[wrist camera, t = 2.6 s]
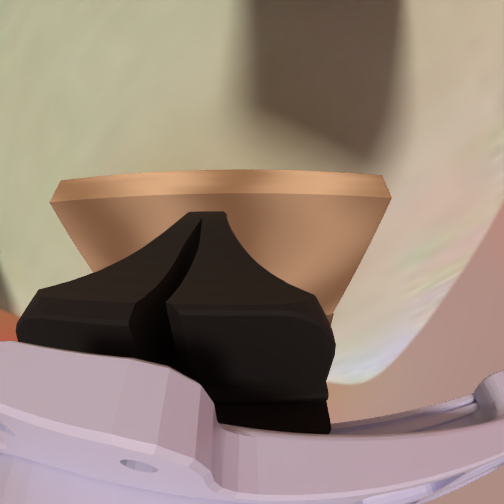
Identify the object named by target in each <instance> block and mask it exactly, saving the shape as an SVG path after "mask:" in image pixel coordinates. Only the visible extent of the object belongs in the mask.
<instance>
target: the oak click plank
mask: <svg viewBox="0 0 504 504" xmlns="http://www.w3.org/2000/svg"><path fill="white" fill-rule="evenodd" d="M391 198H392V197H391V195H390V193H389V190H388V188H387V186H386V183H385V181H384V179H383V177H382V175H371V174H358V173H342V172H323V171H297V170H195V171H170V172H151V173H135V174H122V175H110V176H99V177H88V178H79V179H70V180H62V181H60V183H59V185H58V187H57V189H56V191H55V193H54V195H53V197H52V199H51V201H50V204H51V205H52V207H53V209H54V211H55V212H56V214H57V216H58V218H59V219H60V221H61V223H62V224H63V226H64V228H65V229H66V231H67V233H68V234H69V236H70V238H71V239H72V241H73V242H74V244H75V245H76V247H77V249H78V250H79V252H80V253H81V255H82V256H83V258H84V259H85V261H86V262H87V264H88V265H89V267H90V268H91V270H92V271H93V273H94V272H97V271H99V270H101V269H103V268H105V267H108V266H110V265H112V264H114V263H116V262H118V261H120V260H122V259H124V258H126V257H128V256H129V255H131V254H133V253H134V252H136V251H138V250H139V249H141V248H142V247H144V246H145V245H147V244H148V243H150V242H151V241H152V240H154V239H155V238H156V237H158V236H159V235H161V234H162V233H163V232H165V231H166V230H167V229H168V228H169V227H171V226H172V225H173V224H174V223H176V222H177V221H178V220H179V219H180V218H182V217H183V216H184V215H185V214H187V213H188V212H197V211H224V212H225V213H226V214H227V220H228V223H229V225H230V227H231V229H232V231H233V233H234V234H235V236H236V238H237V239H238V241H239V242H240V244H241V245H242V246H243V248H244V249H245V250H246V251H247V252H248V254H249V255H250V256H251V257H252V258H253V259H254V260H255V261H256V262H257V263H258V264H259V265H261V266H262V267H263V268H265V269H266V270H267V271H269V272H270V273H272V274H273V275H275V276H276V277H278V278H280V279H281V280H283V281H285V282H287V283H289V284H290V285H293V286H295V287H297V288H300V289H302V290H304V291H307V292H309V293H311V294H314V295H315V296H316V297H317V299H318V301H319V303H320V305H321V307H322V309H323V310H324V312H325V315H330V314H332V313H333V312H334V310H335V308H336V306H337V305H338V303H339V301H340V299H341V297H342V296H343V294H344V292H345V290H346V288H347V287H348V285H349V283H350V281H351V279H352V277H353V275H354V274H355V272H356V270H357V268H358V266H359V264H360V262H361V260H362V258H363V256H364V254H365V252H366V250H367V248H368V246H369V244H370V242H371V240H372V238H373V236H374V234H375V232H376V230H377V228H378V226H379V224H380V222H381V220H382V218H383V216H384V213H385V211H386V209H387V207H388V205H389V203H390V200H391Z"/></svg>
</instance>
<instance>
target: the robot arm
mask: <svg viewBox="0 0 504 504" xmlns="http://www.w3.org/2000/svg"><path fill="white" fill-rule="evenodd" d="M16 334H17V338H18V341H3V342H0V504H422V503H425V502H427V501H430V500H433V499H435V498H438V497H440V496H442V495H445V494H447V493H449V492H452V491H454V490H456V489H458V488H461V487H462V486H465V485H467V484H469V483H471V482H473V481H475V480H477V479H479V478H481V477H483V476H485V475H487V474H489V473H491V472H493V471H494V470H496V469H498V468H499V467H501V466H502V465H504V370H502V371H499V372H496V373H493V374H491V375H489V376H488V377H486V378H485V379H484V380H483V381H482V382H481V383H480V384H479V385H478V387H477V388H476V389H475V391H474V393H472V394H469V395H466V396H463V397H460V398H457V399H453V400H449V401H446V402H442V403H439V404H435V405H431V406H427V407H423V408H419V409H415V410H411V411H406V412H401V413H397V414H391V415H386V416H381V417H375V418H369V419H363V420H357V421H350V422H342V423H334V424H331V423H330V418H329V413H328V407H327V402H326V400H327V399H328V389H327V384H326V380H327V377H328V374H329V371H330V368H331V365H332V362H333V358H334V355H335V347H336V343H335V340H334V335H333V331H332V328H331V326H330V323H329V321H328V319H327V317H326V315H325V312H324V310H323V309H322V307H321V305H320V303H319V301H318V299H317V297H316V296H315V295H314V294H311V293H309V292H307V291H304V290H302V289H300V288H297V287H295V286H293V285H290V284H289V283H287V282H285V281H283V280H281V279H280V278H278V277H276V276H275V275H273V274H272V273H270V272H269V271H267V270H266V269H265V268H263V267H262V266H261V265H259V264H258V263H257V262H256V261H255V260H254V259H253V258H252V257H251V256H250V255H249V254H248V252H247V251H246V250H245V249H244V248H243V246H242V245H241V244H240V242H239V241H238V239H237V238H236V236H235V234H234V233H233V231H232V229H231V227H230V225H229V223H228V220H227V214H226V213H225V212H224V211H197V212H188V213H187V214H185V215H184V216H183V217H182V218H180V219H179V220H178V221H177V222H176V223H174V224H173V225H172V226H171V227H169V228H168V229H167V230H166V231H165V232H163V233H162V234H161V235H159V236H158V237H156V238H155V239H154V240H152V241H151V242H150V243H148V244H147V245H145V246H144V247H142V248H141V249H139V250H138V251H136V252H134V253H133V254H131V255H129V256H128V257H126V258H124V259H122V260H120V261H118V262H116V263H114V264H112V265H110V266H108V267H105V268H103V269H101V270H99V271H97V272H94V273H92V274H89V275H86V276H84V277H81V278H78V279H75V280H72V281H69V282H66V283H62V284H58V285H55V286H51V287H47V288H43V289H39V290H38V291H37V293H36V294H35V296H34V297H33V299H32V300H31V302H30V303H29V305H28V307H27V308H26V310H25V311H24V313H23V314H22V316H21V317H20V319H19V321H18V323H17V326H16Z"/></svg>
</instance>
